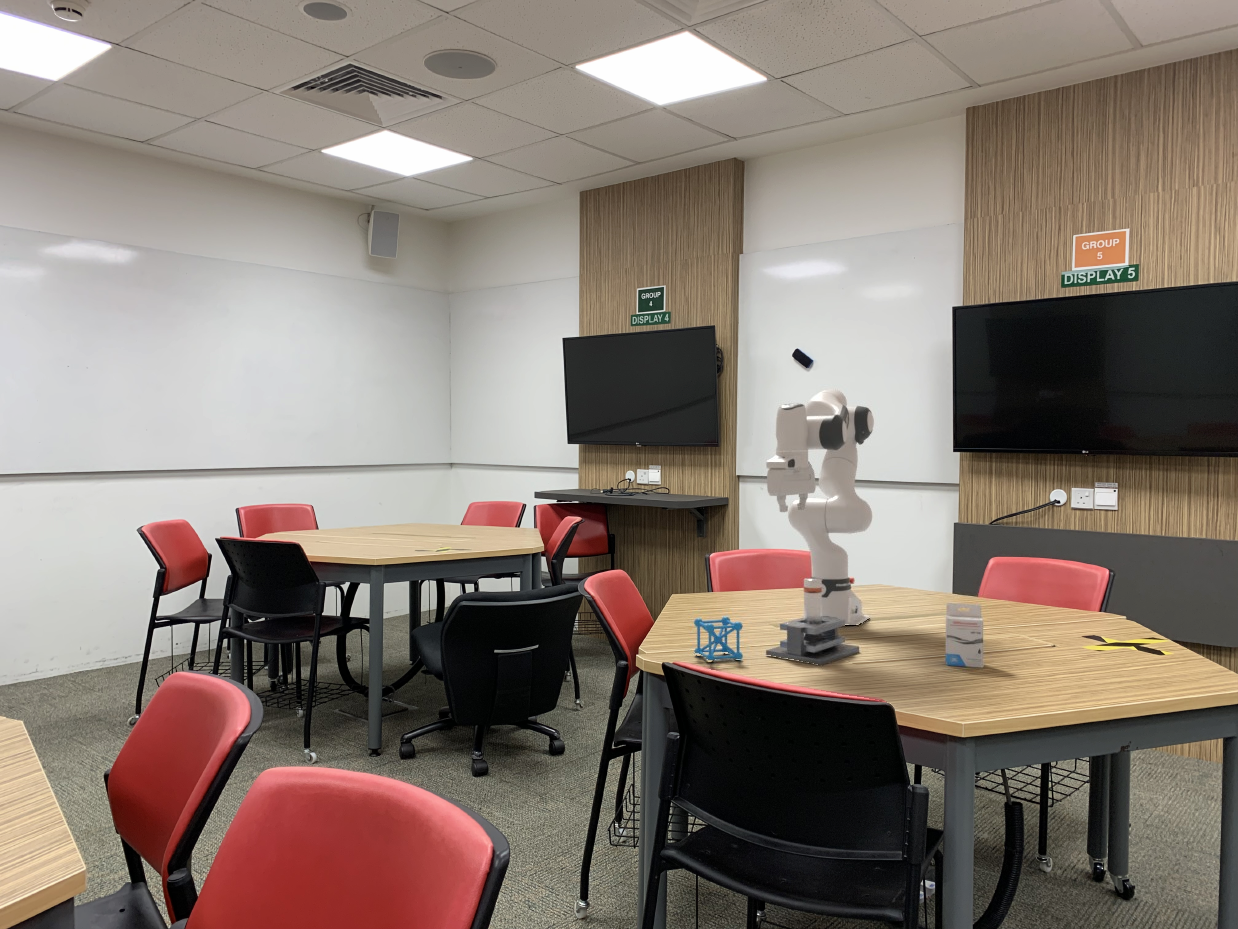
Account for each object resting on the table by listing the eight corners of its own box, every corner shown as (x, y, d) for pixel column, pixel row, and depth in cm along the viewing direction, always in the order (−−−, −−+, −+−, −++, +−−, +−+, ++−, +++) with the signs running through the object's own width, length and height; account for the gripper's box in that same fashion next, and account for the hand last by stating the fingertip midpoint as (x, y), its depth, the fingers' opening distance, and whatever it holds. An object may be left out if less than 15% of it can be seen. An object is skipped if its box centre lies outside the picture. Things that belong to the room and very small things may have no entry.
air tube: (809, 645, 228) (809, 577, 228) (825, 648, 225) (825, 579, 225) (800, 648, 224) (800, 579, 224) (816, 651, 221) (816, 581, 221)
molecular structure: (744, 661, 217) (744, 622, 217) (707, 664, 214) (707, 624, 214) (728, 653, 227) (727, 615, 227) (692, 655, 224) (692, 617, 224)
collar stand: (805, 643, 237) (805, 613, 237) (859, 652, 226) (859, 620, 226) (766, 656, 223) (765, 623, 222) (821, 665, 212) (821, 631, 212)
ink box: (946, 665, 211) (945, 605, 211) (945, 661, 216) (945, 602, 216) (983, 668, 208) (983, 607, 208) (982, 663, 213) (982, 604, 213)
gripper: (801, 460, 249) (801, 508, 249) (762, 462, 234) (763, 512, 234) (820, 460, 245) (821, 509, 245) (782, 462, 230) (783, 513, 230)
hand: (792, 511), depth 240 cm, fingers open, 8 cm apart
